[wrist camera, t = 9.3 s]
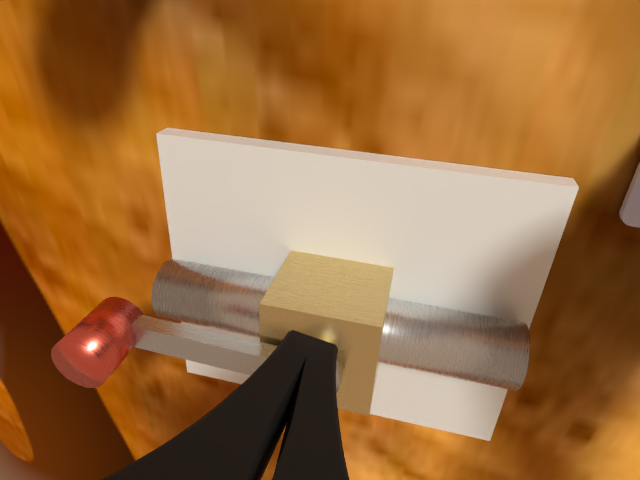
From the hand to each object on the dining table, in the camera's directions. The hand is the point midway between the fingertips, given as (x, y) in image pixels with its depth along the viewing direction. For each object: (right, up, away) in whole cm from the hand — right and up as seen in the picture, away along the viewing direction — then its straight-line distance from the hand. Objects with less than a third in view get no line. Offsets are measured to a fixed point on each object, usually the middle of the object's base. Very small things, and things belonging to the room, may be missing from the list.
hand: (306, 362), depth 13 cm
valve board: (+2, +1, +11) cm, 11 cm away
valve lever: (-4, -1, +8) cm, 9 cm away
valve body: (+1, 0, +11) cm, 11 cm away
